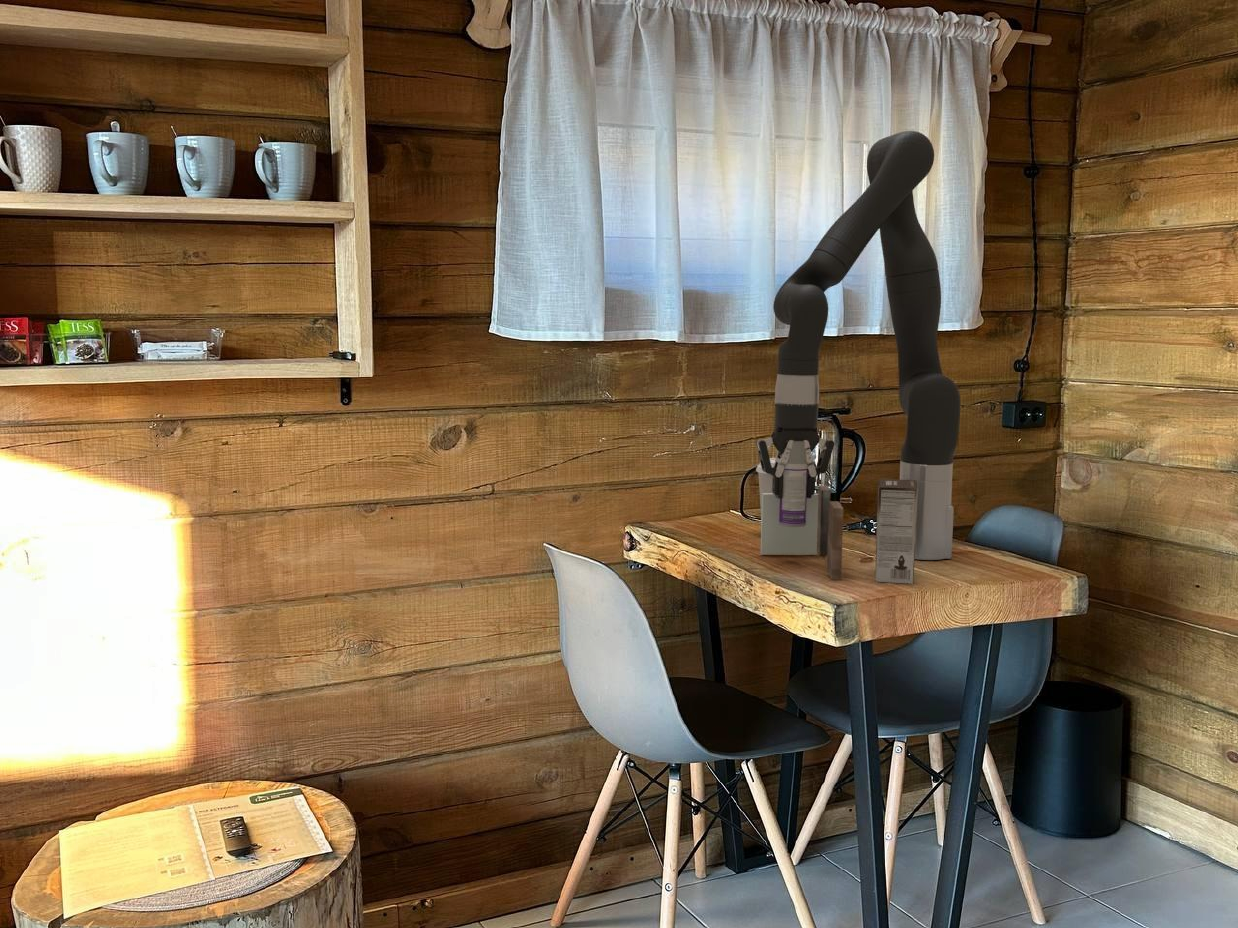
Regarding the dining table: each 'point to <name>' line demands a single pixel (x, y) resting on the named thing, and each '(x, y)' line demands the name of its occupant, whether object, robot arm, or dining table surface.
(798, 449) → the container
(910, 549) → the coffee box
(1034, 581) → the dining table surface
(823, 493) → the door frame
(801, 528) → the door leaf
